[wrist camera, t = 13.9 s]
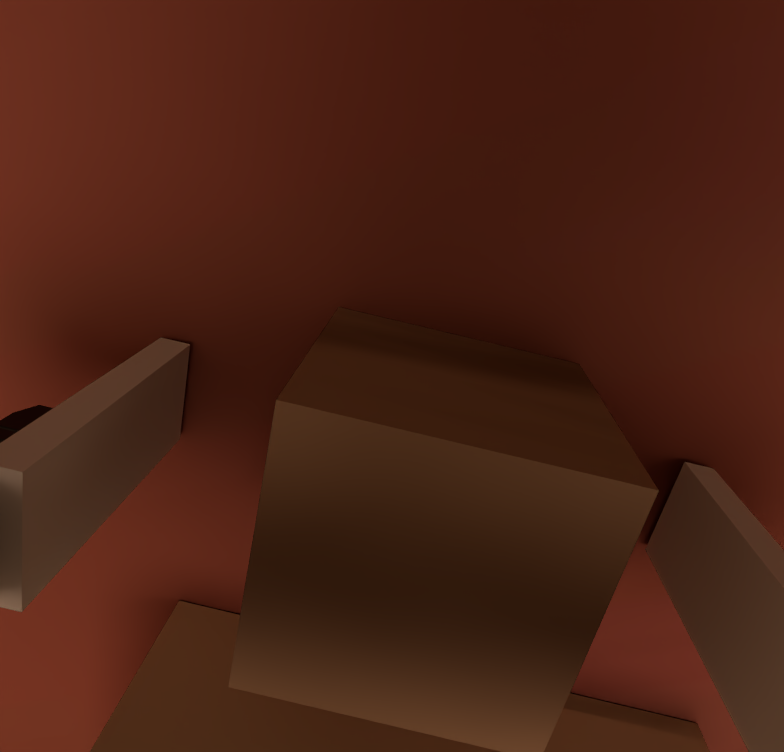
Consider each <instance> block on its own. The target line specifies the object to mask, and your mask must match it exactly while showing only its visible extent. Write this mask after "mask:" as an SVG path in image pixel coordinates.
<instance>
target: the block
mask: <svg viewBox="0 0 784 752" xmlns="http://www.w3.org/2000/svg"><path fill="white" fill-rule="evenodd" d="M658 492H659V490H658V488H657V487H656V485H655V484H654V482H653V480H652V479H651V477H650V476H649V474H648V472H647V471H646V469H645V468H644V466H643V465H642V463H641V461H640V460H639V458H638V457H637V455H636V453H635V452H634V450H633V449H632V447H631V446H630V444H629V442H628V441H627V439H626V438H625V436H624V434H623V433H622V431H621V430H620V428H619V427H618V425H617V423H616V422H615V420H614V419H613V417H612V415H611V414H610V412H609V411H608V409H607V408H606V406H605V404H604V403H603V401H602V400H601V398H600V396H599V395H598V393H597V392H596V390H595V389H594V387H593V385H592V384H591V382H590V381H589V379H588V377H587V376H586V374H585V373H584V371H583V370H582V368H581V366H580V365H579V364H577V363H573V362H569V361H565V360H560V359H556V358H552V357H548V356H543V355H539V354H535V353H531V352H527V351H522V350H518V349H514V348H510V347H506V346H501V345H497V344H493V343H489V342H485V341H480V340H476V339H472V338H468V337H463V336H459V335H455V334H451V333H447V332H442V331H438V330H434V329H430V328H426V327H421V326H417V325H413V324H409V323H405V322H400V321H396V320H392V319H388V318H383V317H379V316H375V315H371V314H367V313H362V312H358V311H354V310H350V309H346V308H341V307H339V308H338V309H337V310H336V312H335V313H334V315H333V316H332V318H331V319H330V321H329V322H328V324H327V325H326V327H325V328H324V330H323V331H322V333H321V334H320V336H319V337H318V339H317V340H316V342H315V343H314V344H313V346H312V347H311V349H310V350H309V352H308V353H307V355H306V356H305V358H304V359H303V361H302V362H301V364H300V365H299V367H298V368H297V370H296V371H295V373H294V374H293V376H292V377H291V378H290V380H289V381H288V383H287V384H286V386H285V387H284V389H283V390H282V392H281V393H280V395H279V396H278V398H277V399H276V403H275V409H274V415H273V421H272V427H271V433H270V439H269V445H268V451H267V457H266V463H265V469H264V475H263V481H262V487H261V493H260V499H259V505H258V511H257V517H256V523H255V529H254V535H253V541H252V547H251V553H250V559H249V565H248V571H247V577H246V583H245V589H244V595H243V601H242V607H241V613H240V619H239V625H238V631H237V637H236V643H235V649H234V655H233V661H232V667H231V673H230V679H229V685H228V687H230V688H234V689H239V690H243V691H247V692H251V693H256V694H260V695H264V696H268V697H273V698H277V699H281V700H285V701H289V702H294V703H298V704H302V705H306V706H311V707H315V708H319V709H323V710H327V711H332V712H336V713H340V714H344V715H349V716H353V717H357V718H361V719H366V720H370V721H374V722H378V723H382V724H387V725H391V726H395V727H399V728H404V729H408V730H412V731H416V732H420V733H425V734H429V735H433V736H437V737H442V738H446V739H450V740H454V741H459V742H463V743H467V744H471V745H475V746H480V747H484V748H488V749H492V750H497V751H501V752H544V751H545V748H546V746H547V744H548V741H549V739H550V737H551V735H552V732H553V730H554V728H555V726H556V723H557V721H558V719H559V716H560V714H561V712H562V710H563V707H564V705H565V703H566V701H567V698H568V696H569V694H570V691H571V689H572V687H573V685H574V682H575V680H576V678H577V676H578V673H579V671H580V669H581V666H582V664H583V662H584V660H585V657H586V655H587V653H588V651H589V648H590V646H591V644H592V641H593V639H594V637H595V635H596V632H597V630H598V628H599V626H600V623H601V621H602V619H603V616H604V614H605V612H606V610H607V607H608V605H609V603H610V601H611V598H612V596H613V594H614V591H615V589H616V587H617V585H618V582H619V580H620V578H621V576H622V573H623V571H624V569H625V566H626V564H627V562H628V560H629V557H630V555H631V553H632V551H633V548H634V546H635V544H636V542H637V539H638V537H639V535H640V532H641V530H642V528H643V526H644V523H645V521H646V519H647V517H648V514H649V512H650V510H651V507H652V505H653V503H654V501H655V498H656V496H657V494H658Z"/></svg>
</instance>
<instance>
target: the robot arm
mask: <svg viewBox="0 0 784 752" xmlns="http://www.w3.org/2000/svg"><path fill="white" fill-rule="evenodd" d="M189 351H190V344H186V343H182V342H178V341H174V340H170V339H165V338H159V339H158V340H156V341H155V342H153V343H152V344H150V345H149V346H147V347H146V348H144V349H143V350H141V351H140V352H138V353H137V354H135V355H133V356H132V357H130V358H129V359H127V360H126V361H124V362H123V363H121V364H120V365H118V366H117V367H115V368H114V369H112V370H111V371H109V372H108V373H106V374H105V375H103V376H102V377H100V378H99V379H97V380H95V381H94V382H92V383H91V384H89V385H88V386H86V387H85V388H83V389H82V390H80V391H79V392H77V393H76V394H74V395H73V396H71V397H70V398H68V399H67V400H65V401H64V402H62V403H61V404H59V405H57V406H56V407H54V408H50V407H46V406H42V405H38V406H34V407H31V408H28V409H24V410H21V411H17V412H14V413H12V414H10V415H9V416H7V417H5V418H4V419H2V420H1V421H0V607H2V608H7V609H11V610H15V611H20V612H22V611H23V610H24V609H25V608H26V607H27V606H28V605H29V604H30V602H31V601H32V600H33V599H34V598H35V597H36V596H37V595H38V594H39V593H40V592H41V590H42V589H43V588H44V587H45V586H46V585H47V584H48V583H49V582H50V581H51V579H52V578H53V577H54V576H55V575H56V574H57V573H58V572H59V571H60V570H61V569H62V567H63V566H64V565H65V564H66V563H67V562H68V561H69V560H70V559H71V558H72V557H73V555H74V554H75V553H76V552H77V551H78V550H79V549H80V548H81V547H82V546H83V544H84V543H85V542H86V541H87V540H88V539H89V538H90V537H91V536H92V535H93V534H94V532H95V531H96V530H97V529H98V528H99V527H100V526H101V525H102V524H103V523H104V522H105V520H106V519H107V518H108V517H109V516H110V515H111V514H112V513H113V512H114V511H115V510H116V508H117V507H118V506H119V505H120V504H121V503H122V502H123V501H124V500H125V499H126V497H127V496H128V495H129V494H130V493H131V492H132V491H133V490H134V489H135V488H136V487H137V485H138V484H139V483H140V482H141V481H142V480H143V479H144V478H145V477H146V476H147V475H148V473H149V472H150V471H151V470H152V469H153V468H154V467H155V466H156V465H157V464H158V462H159V461H160V460H161V459H162V458H163V457H164V456H165V455H166V454H167V453H168V452H169V450H170V449H171V448H172V447H173V446H174V445H175V444H176V443H177V442H178V441H179V440H180V433H181V424H182V415H183V406H184V397H185V388H186V379H187V370H188V361H189ZM645 550H646V552H647V553H648V555H649V557H650V559H651V561H652V563H653V565H654V567H655V569H656V571H657V573H658V575H659V577H660V579H661V581H662V583H663V585H664V587H665V589H666V591H667V593H668V595H669V597H670V598H671V600H672V602H673V604H674V606H675V608H676V610H677V612H678V614H679V616H680V618H681V620H682V622H683V624H684V626H685V628H686V630H687V632H688V634H689V636H690V638H691V640H692V641H693V643H694V645H695V647H696V649H697V651H698V653H699V655H700V657H701V659H702V661H703V663H704V665H705V667H706V669H707V671H708V673H709V675H710V677H711V679H712V681H713V683H714V685H715V686H716V688H717V690H718V692H719V694H720V696H721V698H722V700H723V702H724V704H725V706H726V708H727V710H728V712H729V714H730V716H731V718H732V720H733V722H734V724H735V726H736V728H737V729H738V731H739V733H740V735H741V737H742V739H743V741H744V743H745V745H746V747H747V749H748V751H749V752H784V550H783V549H782V548H781V547H780V545H779V544H778V543H777V542H776V541H775V540H774V538H773V537H772V536H771V535H770V534H769V533H768V531H767V530H766V529H765V528H764V527H763V526H762V524H761V523H760V522H759V521H758V520H757V519H756V517H755V516H754V515H753V514H752V513H751V512H750V510H749V509H748V508H747V507H746V506H745V505H744V503H743V502H742V501H741V500H740V499H739V498H738V496H737V495H736V494H735V493H734V492H733V491H732V489H731V488H730V487H729V486H728V485H727V484H726V482H725V481H724V480H723V479H722V478H721V477H720V475H719V474H718V473H717V472H716V471H715V470H714V469H713V468H709V467H705V466H701V465H696V464H692V463H688V462H684V464H683V466H682V468H681V471H680V473H679V475H678V477H677V480H676V482H675V484H674V486H673V489H672V491H671V493H670V495H669V497H668V500H667V502H666V504H665V506H664V509H663V511H662V513H661V515H660V518H659V520H658V522H657V524H656V527H655V529H654V531H653V533H652V535H651V538H650V540H649V542H648V544H647V547H646V549H645Z"/></svg>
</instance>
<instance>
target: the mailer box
mask: <svg viewBox="0 0 784 752" xmlns="http://www.w3.org/2000/svg"><path fill="white" fill-rule="evenodd" d="M239 619H240V615H238V614H234V613H230V612H225V611H221V610H217V609H213V608H208V607H204V606H200V605H196V604H192V603H187V602H183V601H179V602H178V603H177V605H176V607H175V608H174V610H173V612H172V614H171V615H170V617H169V619H168V620H167V622H166V624H165V625H164V627H163V629H162V630H161V632H160V634H159V636H158V637H157V639H156V641H155V642H154V644H153V646H152V647H151V649H150V651H149V653H148V654H147V656H146V658H145V659H144V661H143V663H142V664H141V666H140V668H139V670H138V671H137V673H136V675H135V676H134V678H133V680H132V681H131V683H130V685H129V686H128V688H127V690H126V692H125V693H124V695H123V697H122V698H121V700H120V702H119V703H118V705H117V707H116V709H115V710H114V712H113V714H112V715H111V717H110V719H109V720H108V722H107V724H106V725H105V727H104V729H103V731H102V732H101V734H100V736H99V737H98V739H97V741H96V742H95V744H94V746H93V748H92V749H91V751H90V752H501V751H497V750H492V749H488V748H484V747H480V746H475V745H471V744H467V743H463V742H459V741H454V740H450V739H446V738H442V737H437V736H433V735H429V734H425V733H420V732H416V731H412V730H408V729H404V728H399V727H395V726H391V725H387V724H382V723H378V722H374V721H370V720H366V719H361V718H357V717H353V716H349V715H344V714H340V713H336V712H332V711H327V710H323V709H319V708H315V707H311V706H306V705H302V704H298V703H294V702H289V701H285V700H281V699H277V698H273V697H268V696H264V695H260V694H256V693H251V692H247V691H243V690H239V689H234V688H230V687H228V685H229V679H230V673H231V667H232V661H233V655H234V649H235V643H236V637H237V631H238V625H239ZM544 752H710V751H709V749H708V747H707V744H706V742H705V740H704V738H703V735H702V733H701V731H700V729H699V726H698V724H697V723H693V722H689V721H685V720H680V719H676V718H672V717H668V716H663V715H659V714H655V713H651V712H647V711H642V710H638V709H634V708H630V707H626V706H621V705H617V704H613V703H609V702H605V701H600V700H596V699H592V698H588V697H583V696H579V695H575V694H571V693H570V694H569V696H568V698H567V701H566V703H565V705H564V707H563V710H562V712H561V714H560V716H559V719H558V721H557V723H556V726H555V728H554V730H553V732H552V735H551V737H550V739H549V741H548V744H547V746H546V748H545V751H544Z"/></svg>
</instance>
